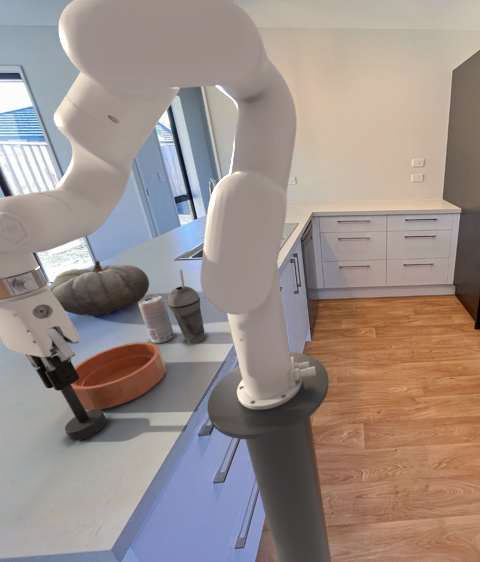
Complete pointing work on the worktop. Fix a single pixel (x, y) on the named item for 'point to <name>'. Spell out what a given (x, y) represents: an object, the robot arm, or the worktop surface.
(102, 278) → the gourd
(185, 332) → the beverage cup
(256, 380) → the robot arm
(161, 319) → the energy drink
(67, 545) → the worktop surface
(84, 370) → the bowl
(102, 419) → the grey disc stick
